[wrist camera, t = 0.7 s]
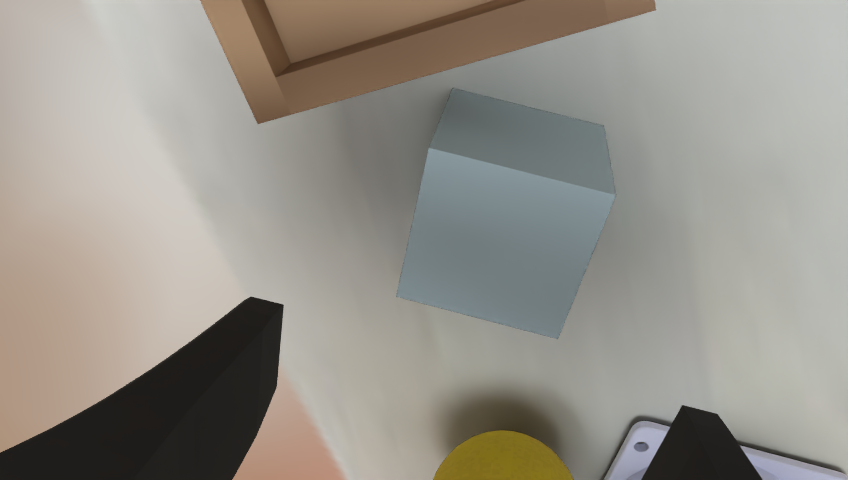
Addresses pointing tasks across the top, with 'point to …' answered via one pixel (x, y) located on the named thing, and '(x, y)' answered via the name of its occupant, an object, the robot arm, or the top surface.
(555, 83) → the top surface
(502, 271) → the block
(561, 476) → the lemon
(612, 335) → the top surface
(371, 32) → the walnut base
